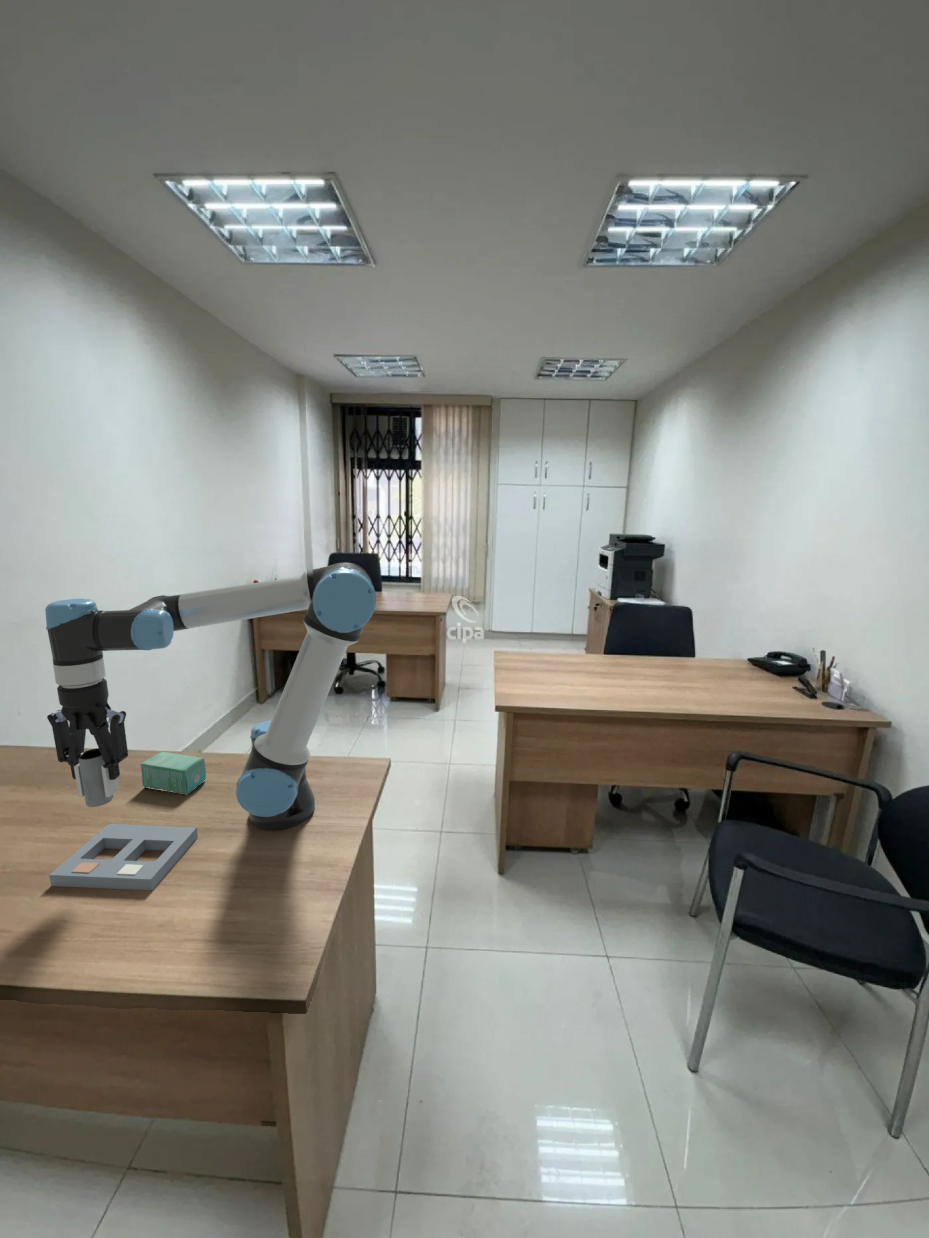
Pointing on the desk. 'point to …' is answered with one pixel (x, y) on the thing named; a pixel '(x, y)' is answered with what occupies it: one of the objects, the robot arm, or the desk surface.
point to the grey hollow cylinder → (93, 778)
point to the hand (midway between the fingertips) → (98, 792)
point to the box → (173, 772)
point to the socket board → (125, 857)
